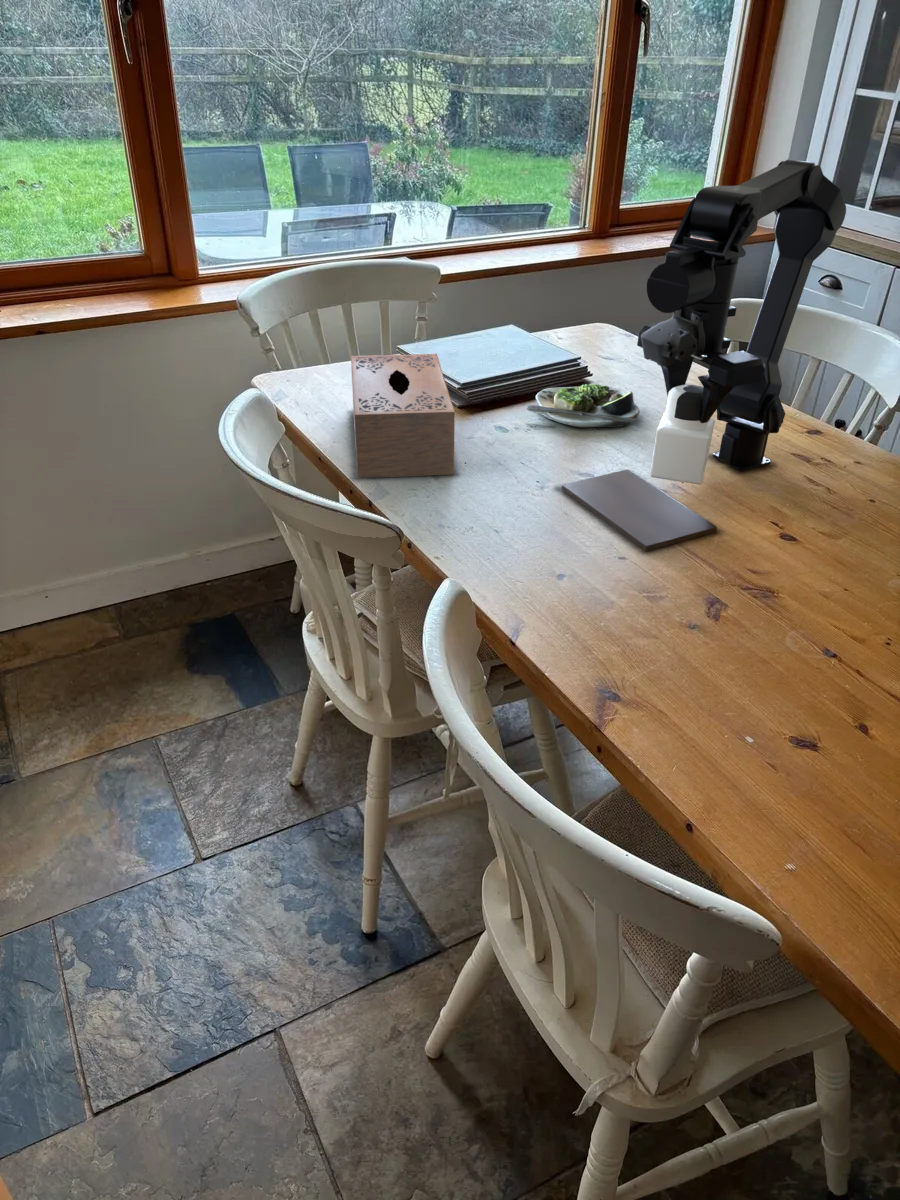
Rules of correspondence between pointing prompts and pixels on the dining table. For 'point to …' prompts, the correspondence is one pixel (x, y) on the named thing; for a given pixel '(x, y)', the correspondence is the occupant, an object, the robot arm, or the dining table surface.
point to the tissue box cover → (402, 416)
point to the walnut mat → (638, 509)
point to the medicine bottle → (682, 438)
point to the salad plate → (586, 406)
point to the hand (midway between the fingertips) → (687, 414)
